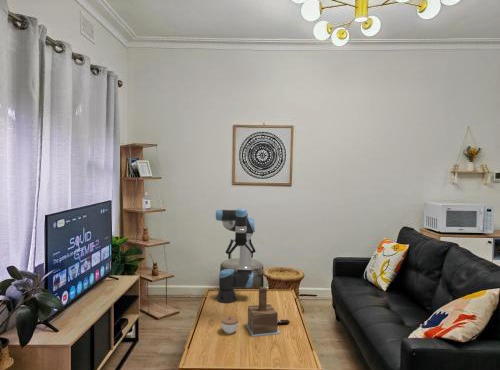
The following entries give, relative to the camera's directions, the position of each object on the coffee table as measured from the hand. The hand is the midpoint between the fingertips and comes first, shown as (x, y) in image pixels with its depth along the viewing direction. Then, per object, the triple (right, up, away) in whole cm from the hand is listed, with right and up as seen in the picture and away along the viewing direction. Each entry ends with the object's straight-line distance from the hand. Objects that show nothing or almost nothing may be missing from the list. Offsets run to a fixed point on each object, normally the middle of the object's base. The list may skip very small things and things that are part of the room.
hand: (240, 263), depth 241 cm
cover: (+14, -39, -12) cm, 43 cm away
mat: (+14, -39, -12) cm, 44 cm away
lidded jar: (-6, -40, -16) cm, 43 cm away
